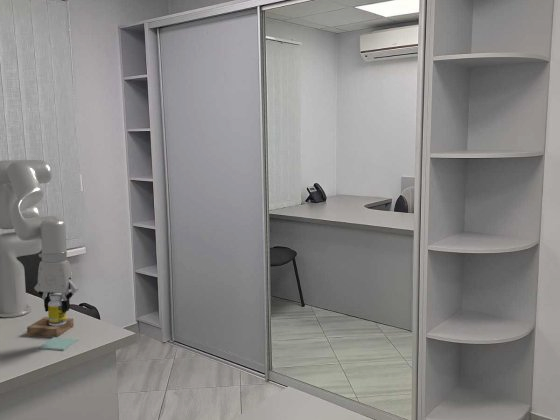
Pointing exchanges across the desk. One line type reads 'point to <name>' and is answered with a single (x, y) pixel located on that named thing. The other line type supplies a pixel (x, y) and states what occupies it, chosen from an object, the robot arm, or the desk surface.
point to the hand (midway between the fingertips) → (57, 310)
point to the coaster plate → (58, 343)
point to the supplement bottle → (56, 310)
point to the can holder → (48, 328)
